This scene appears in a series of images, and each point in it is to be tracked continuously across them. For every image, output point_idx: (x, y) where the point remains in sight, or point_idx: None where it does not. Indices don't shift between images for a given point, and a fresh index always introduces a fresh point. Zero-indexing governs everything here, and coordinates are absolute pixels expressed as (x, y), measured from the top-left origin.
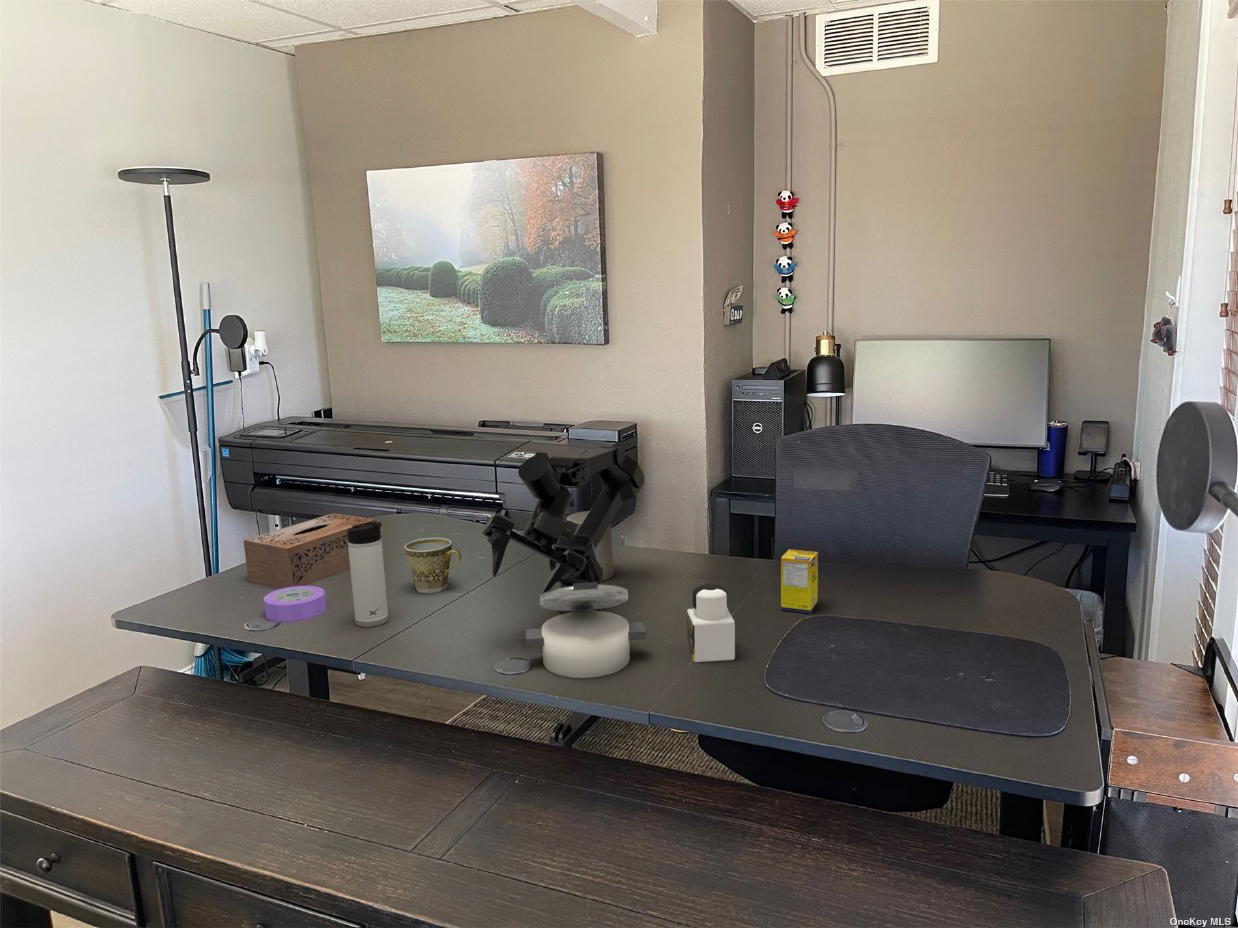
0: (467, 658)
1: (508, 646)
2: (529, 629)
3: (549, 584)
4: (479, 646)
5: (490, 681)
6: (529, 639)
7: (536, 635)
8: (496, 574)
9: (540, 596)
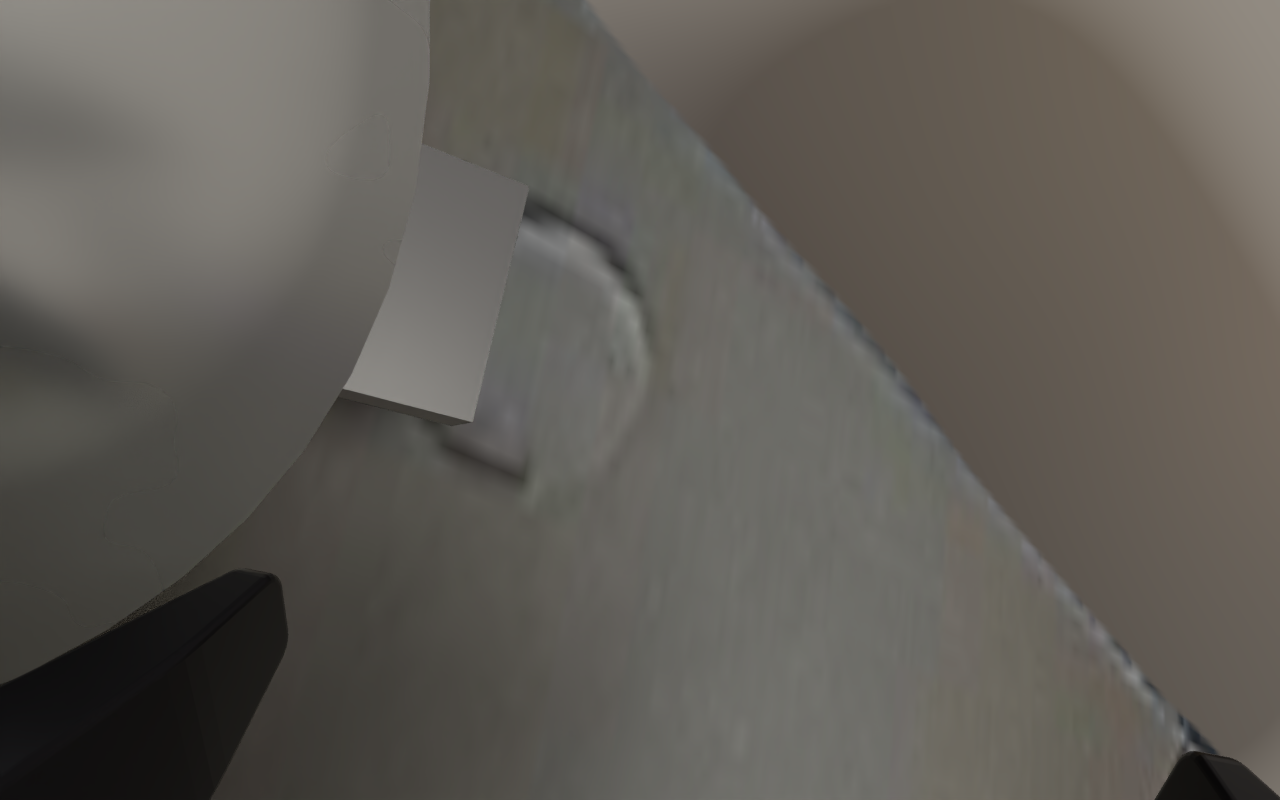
0: (765, 579)
1: (492, 706)
2: (440, 405)
3: (9, 744)
4: (676, 762)
5: (698, 191)
6: (495, 177)
7: (414, 217)
8: (1197, 755)
9: (421, 138)
